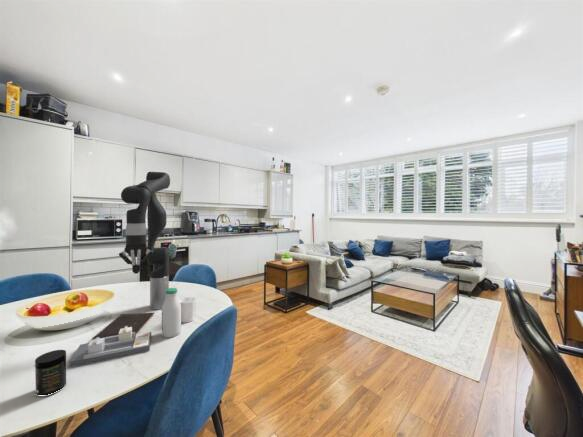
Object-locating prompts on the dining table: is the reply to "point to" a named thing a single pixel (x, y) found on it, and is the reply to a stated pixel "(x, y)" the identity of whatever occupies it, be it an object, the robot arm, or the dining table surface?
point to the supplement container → (50, 372)
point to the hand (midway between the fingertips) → (136, 273)
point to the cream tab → (125, 333)
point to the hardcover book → (126, 324)
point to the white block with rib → (96, 345)
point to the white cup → (187, 309)
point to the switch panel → (112, 349)
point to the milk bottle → (171, 314)
